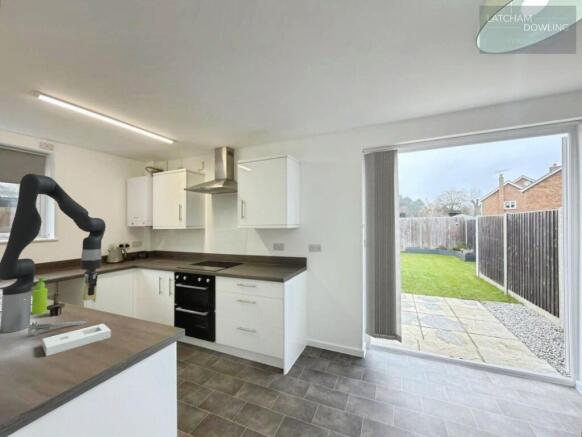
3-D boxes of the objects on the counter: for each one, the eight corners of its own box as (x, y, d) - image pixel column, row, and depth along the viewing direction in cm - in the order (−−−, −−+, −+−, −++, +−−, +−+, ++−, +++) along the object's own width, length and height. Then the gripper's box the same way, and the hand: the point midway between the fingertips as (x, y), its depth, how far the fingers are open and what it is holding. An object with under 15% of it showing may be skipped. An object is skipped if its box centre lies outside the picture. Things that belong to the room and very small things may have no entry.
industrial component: (64, 314, 132) (65, 293, 132) (46, 318, 127) (47, 295, 127) (64, 310, 138) (65, 290, 139) (46, 313, 133) (47, 292, 134)
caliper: (27, 338, 104) (28, 323, 105) (27, 337, 105) (28, 323, 105) (87, 323, 121) (87, 310, 121) (86, 322, 121) (87, 310, 122)
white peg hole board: (42, 346, 97) (42, 338, 97) (103, 329, 112) (103, 323, 112) (46, 356, 89) (46, 347, 89) (110, 337, 105) (111, 330, 105)
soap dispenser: (40, 314, 132) (42, 278, 133) (28, 314, 132) (30, 278, 133) (51, 310, 138) (52, 276, 139) (39, 310, 138) (41, 276, 139)
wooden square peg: (83, 299, 114) (84, 282, 114) (93, 297, 117) (94, 280, 117) (85, 300, 111) (86, 283, 112) (96, 298, 115) (96, 282, 115)
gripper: (78, 258, 117) (76, 293, 116) (84, 260, 108) (83, 298, 107) (97, 256, 122) (95, 290, 122) (105, 259, 114) (103, 295, 113)
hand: (89, 294), depth 114 cm, fingers closed on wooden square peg, 4 cm apart
